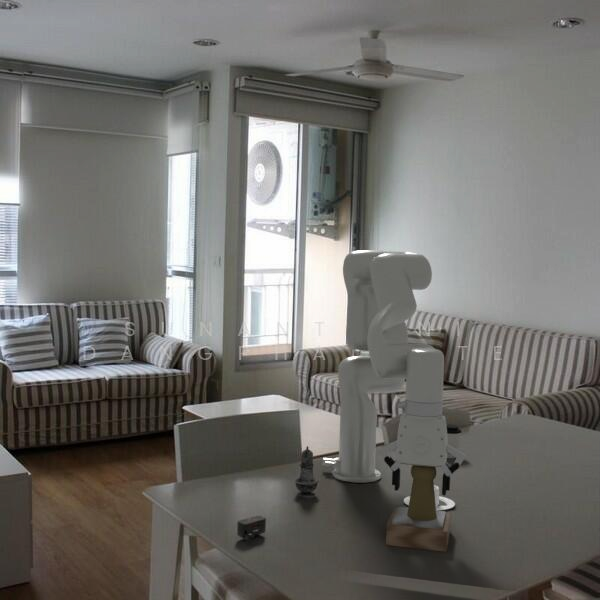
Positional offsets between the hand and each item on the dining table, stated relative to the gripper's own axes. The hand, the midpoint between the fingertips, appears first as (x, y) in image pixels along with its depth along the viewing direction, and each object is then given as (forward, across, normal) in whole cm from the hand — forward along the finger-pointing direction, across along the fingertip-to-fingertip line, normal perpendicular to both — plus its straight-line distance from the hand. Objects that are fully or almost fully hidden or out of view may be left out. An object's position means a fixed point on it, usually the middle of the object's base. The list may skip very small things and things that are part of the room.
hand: (420, 491), depth 163 cm
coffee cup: (+10, +2, +68) cm, 69 cm away
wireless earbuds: (+10, -33, -9) cm, 36 cm away
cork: (+5, 0, 0) cm, 5 cm away
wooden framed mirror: (+10, 0, 0) cm, 10 cm away
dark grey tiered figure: (+10, -29, +21) cm, 37 cm away
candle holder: (+10, 0, +24) cm, 27 cm away
